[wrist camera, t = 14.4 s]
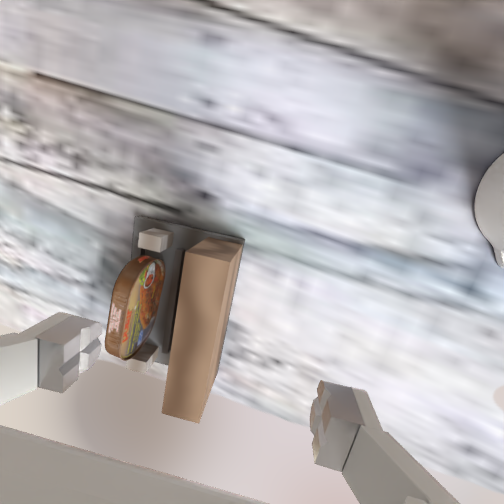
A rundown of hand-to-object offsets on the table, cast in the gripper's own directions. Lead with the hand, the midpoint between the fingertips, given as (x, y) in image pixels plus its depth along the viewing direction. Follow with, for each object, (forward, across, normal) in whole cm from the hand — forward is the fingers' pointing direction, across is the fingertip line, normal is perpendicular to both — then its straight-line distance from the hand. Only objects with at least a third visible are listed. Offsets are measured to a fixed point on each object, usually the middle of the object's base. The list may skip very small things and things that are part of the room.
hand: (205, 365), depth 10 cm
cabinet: (+29, +10, +13) cm, 33 cm away
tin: (+28, +15, +13) cm, 34 cm away
